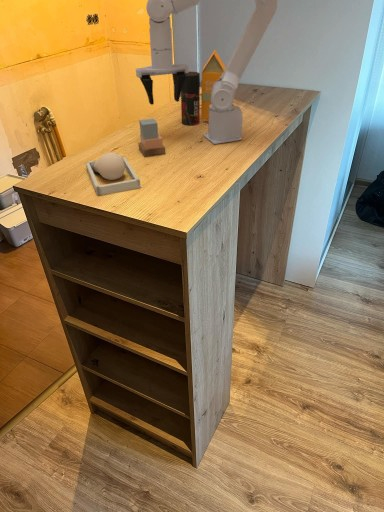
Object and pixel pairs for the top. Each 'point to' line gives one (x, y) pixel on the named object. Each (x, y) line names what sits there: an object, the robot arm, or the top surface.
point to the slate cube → (148, 129)
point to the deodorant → (191, 99)
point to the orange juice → (210, 81)
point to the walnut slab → (151, 151)
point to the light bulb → (109, 166)
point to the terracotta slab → (152, 142)
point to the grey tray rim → (115, 186)
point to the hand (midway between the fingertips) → (164, 102)
